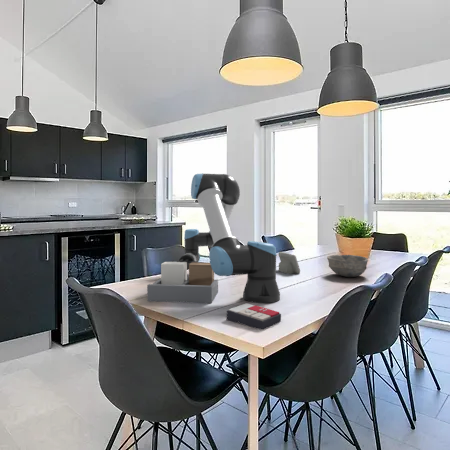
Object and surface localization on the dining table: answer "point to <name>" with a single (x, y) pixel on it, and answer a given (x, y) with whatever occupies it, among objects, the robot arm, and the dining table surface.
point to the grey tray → (182, 292)
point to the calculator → (253, 316)
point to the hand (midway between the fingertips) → (176, 269)
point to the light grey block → (173, 273)
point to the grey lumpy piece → (288, 263)
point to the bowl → (347, 265)
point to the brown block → (200, 274)
